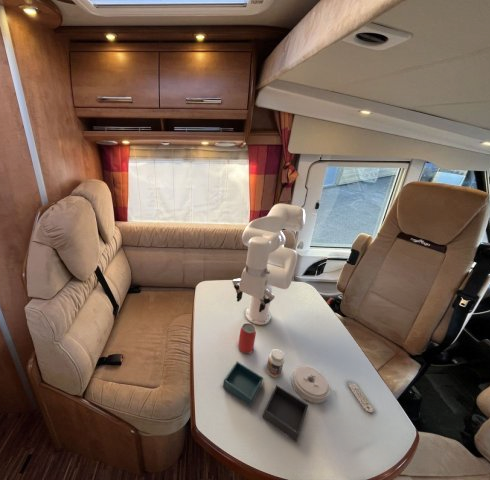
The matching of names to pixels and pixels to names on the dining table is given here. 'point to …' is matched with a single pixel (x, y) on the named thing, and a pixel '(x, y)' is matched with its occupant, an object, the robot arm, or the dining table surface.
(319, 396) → the lid
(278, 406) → the can bin
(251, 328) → the beer can
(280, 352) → the pill bottle
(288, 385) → the dining table surface
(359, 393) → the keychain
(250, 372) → the pill bin
